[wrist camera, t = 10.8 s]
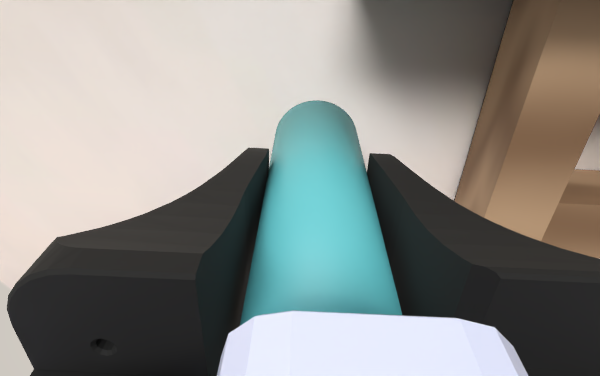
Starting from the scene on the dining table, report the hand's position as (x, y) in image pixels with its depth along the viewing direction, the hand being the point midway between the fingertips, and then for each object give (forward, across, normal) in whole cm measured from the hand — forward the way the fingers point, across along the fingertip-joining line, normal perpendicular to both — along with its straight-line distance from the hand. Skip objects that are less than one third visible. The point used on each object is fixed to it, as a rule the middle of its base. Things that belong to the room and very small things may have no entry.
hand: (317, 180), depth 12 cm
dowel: (+3, 0, 0) cm, 3 cm away
